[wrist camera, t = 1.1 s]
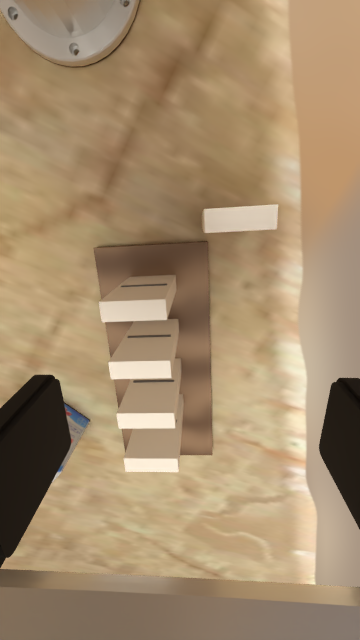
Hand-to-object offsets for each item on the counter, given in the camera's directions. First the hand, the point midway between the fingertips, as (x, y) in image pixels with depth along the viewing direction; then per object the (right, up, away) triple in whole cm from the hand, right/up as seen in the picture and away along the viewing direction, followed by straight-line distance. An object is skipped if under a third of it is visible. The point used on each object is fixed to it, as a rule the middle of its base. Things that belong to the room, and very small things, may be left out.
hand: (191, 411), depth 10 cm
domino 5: (+4, +14, +19) cm, 24 cm away
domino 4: (-2, -7, +25) cm, 26 cm away
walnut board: (-3, -2, +25) cm, 25 cm away
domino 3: (-3, -2, +24) cm, 24 cm away
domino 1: (-3, +7, +20) cm, 22 cm away
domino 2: (-3, +3, +22) cm, 22 cm away
